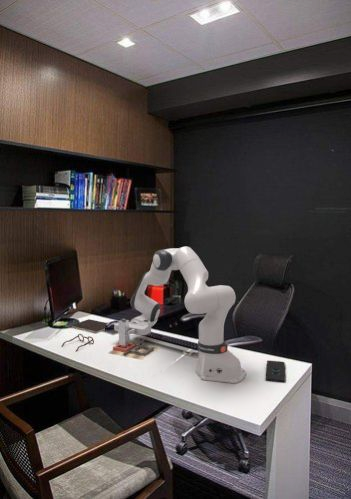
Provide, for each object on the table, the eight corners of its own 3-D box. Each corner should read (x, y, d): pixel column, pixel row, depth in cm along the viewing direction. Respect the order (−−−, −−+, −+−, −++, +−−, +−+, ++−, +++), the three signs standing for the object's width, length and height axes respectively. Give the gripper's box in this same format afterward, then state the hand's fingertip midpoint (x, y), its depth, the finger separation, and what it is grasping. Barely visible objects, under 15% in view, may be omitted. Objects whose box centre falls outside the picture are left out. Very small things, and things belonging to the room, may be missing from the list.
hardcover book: (95, 334, 224) (95, 330, 223) (71, 328, 237) (70, 325, 236) (114, 327, 237) (114, 324, 236) (89, 322, 250) (89, 318, 249)
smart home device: (265, 378, 156) (266, 359, 175) (265, 381, 156) (266, 363, 175) (285, 380, 153) (284, 361, 173) (285, 384, 154) (284, 365, 173)
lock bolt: (129, 344, 194) (129, 318, 193) (125, 346, 190) (124, 320, 189) (123, 343, 196) (122, 317, 194) (119, 345, 192) (118, 319, 191)
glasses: (94, 345, 204) (94, 336, 204) (75, 352, 194) (75, 343, 194) (79, 341, 212) (79, 332, 212) (60, 347, 202) (60, 339, 201)
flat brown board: (160, 350, 194) (160, 344, 193) (141, 362, 178) (141, 356, 177) (127, 344, 203) (127, 339, 203) (107, 355, 187) (107, 350, 187)
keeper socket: (136, 346, 195) (136, 344, 195) (126, 352, 187) (126, 349, 187) (122, 344, 199) (122, 341, 199) (112, 349, 191) (112, 347, 191)
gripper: (122, 317, 208) (107, 324, 196) (153, 321, 199) (138, 329, 187) (122, 328, 209) (107, 335, 197) (153, 333, 199) (139, 341, 187)
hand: (123, 332), depth 192 cm, fingers closed on lock bolt, 4 cm apart
